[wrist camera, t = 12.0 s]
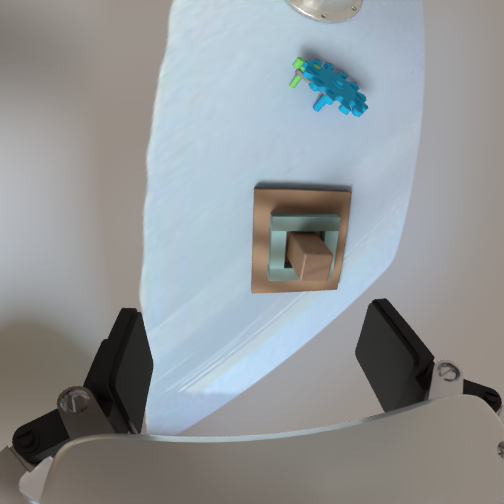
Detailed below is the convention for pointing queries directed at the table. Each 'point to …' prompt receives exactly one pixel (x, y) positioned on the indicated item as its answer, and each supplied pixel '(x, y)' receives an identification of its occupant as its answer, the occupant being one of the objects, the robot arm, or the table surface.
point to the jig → (295, 219)
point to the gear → (330, 86)
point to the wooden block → (309, 256)
